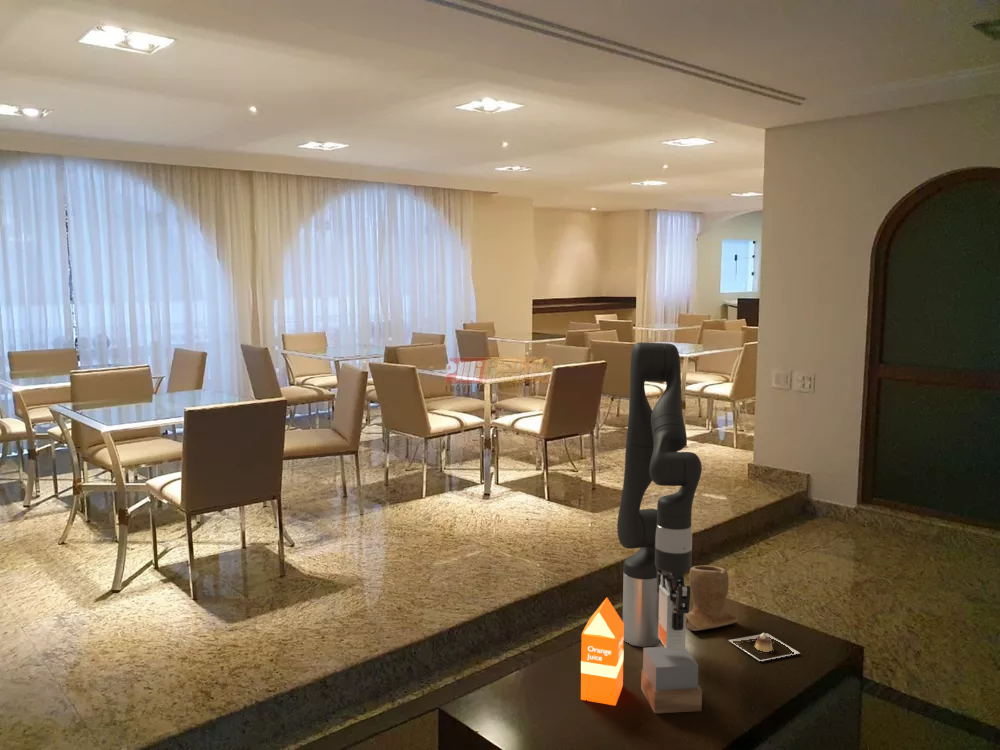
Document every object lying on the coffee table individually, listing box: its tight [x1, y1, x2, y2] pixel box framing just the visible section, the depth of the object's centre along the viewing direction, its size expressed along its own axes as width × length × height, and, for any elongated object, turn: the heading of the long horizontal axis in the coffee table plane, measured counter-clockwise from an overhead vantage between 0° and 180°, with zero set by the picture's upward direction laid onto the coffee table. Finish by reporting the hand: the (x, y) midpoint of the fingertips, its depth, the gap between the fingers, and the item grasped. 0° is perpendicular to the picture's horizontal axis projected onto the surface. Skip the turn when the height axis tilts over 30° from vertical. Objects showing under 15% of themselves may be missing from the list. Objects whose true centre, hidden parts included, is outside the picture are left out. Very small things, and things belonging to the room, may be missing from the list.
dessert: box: [728, 631, 801, 662], centre depth 187 cm, size 12×12×5 cm
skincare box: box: [658, 585, 687, 650], centre depth 162 cm, size 6×4×12 cm
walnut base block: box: [640, 668, 703, 714], centre depth 163 cm, size 10×10×5 cm
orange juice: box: [580, 597, 625, 706], centre depth 165 cm, size 8×9×20 cm
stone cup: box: [686, 565, 738, 632], centre depth 201 cm, size 15×12×15 cm
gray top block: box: [642, 646, 699, 690], centre depth 163 cm, size 9×9×5 cm
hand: (671, 622), depth 162 cm, fingers closed on skincare box, 6 cm apart
